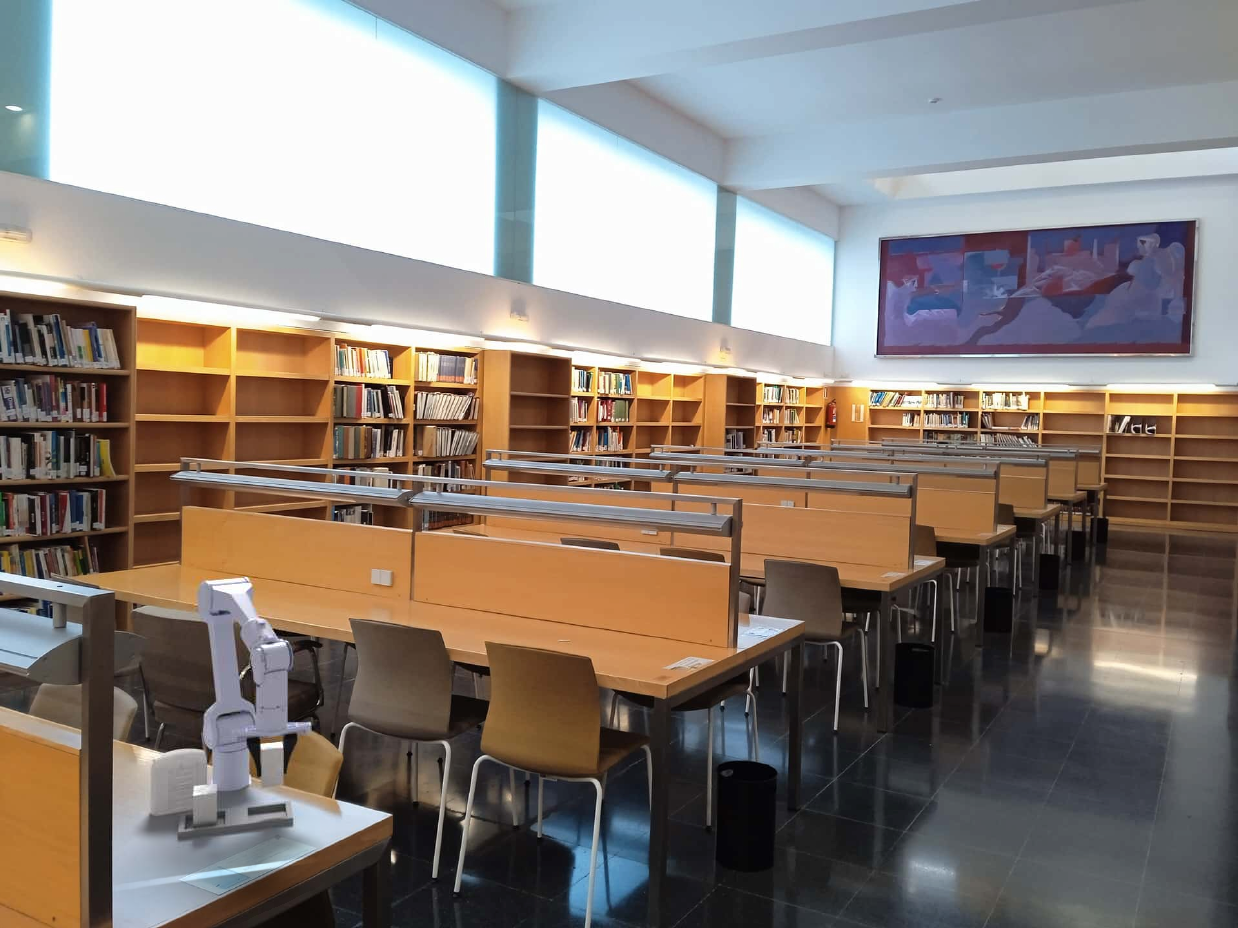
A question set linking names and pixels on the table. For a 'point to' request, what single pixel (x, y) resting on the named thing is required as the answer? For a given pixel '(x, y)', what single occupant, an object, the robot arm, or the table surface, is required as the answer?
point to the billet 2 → (271, 764)
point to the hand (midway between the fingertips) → (271, 773)
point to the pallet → (239, 819)
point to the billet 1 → (205, 806)
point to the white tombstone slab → (176, 780)
